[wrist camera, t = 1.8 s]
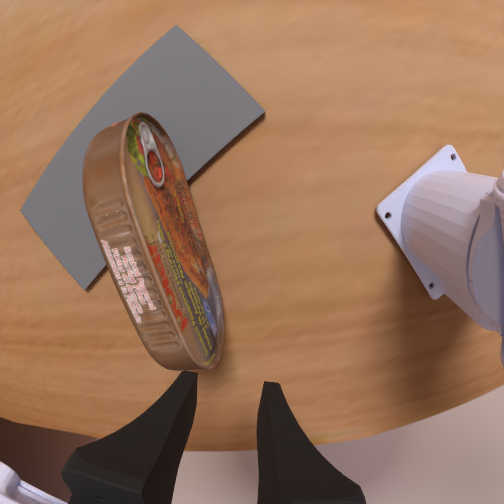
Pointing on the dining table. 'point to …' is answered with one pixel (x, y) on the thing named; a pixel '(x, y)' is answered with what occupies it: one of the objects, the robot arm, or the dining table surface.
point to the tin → (154, 242)
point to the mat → (123, 107)
